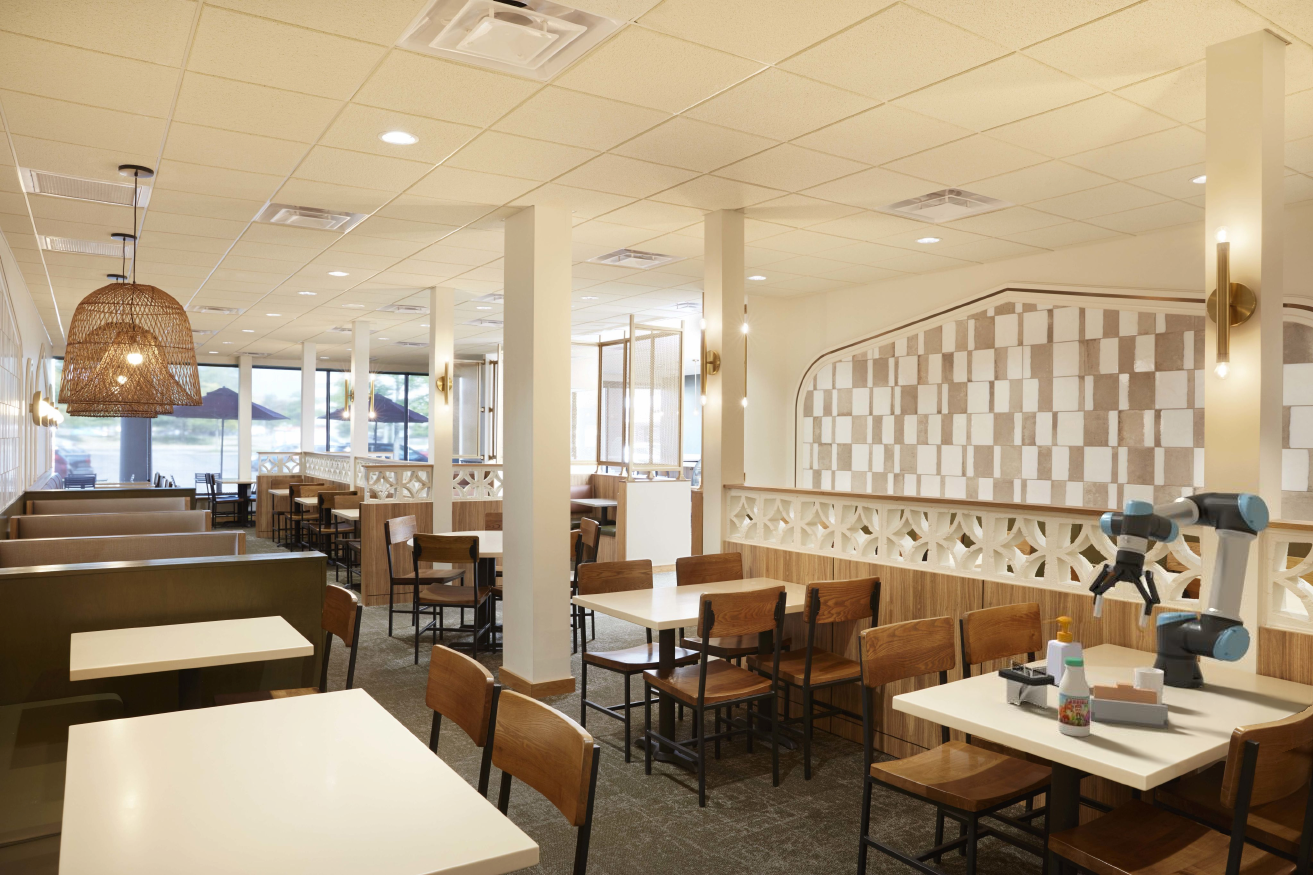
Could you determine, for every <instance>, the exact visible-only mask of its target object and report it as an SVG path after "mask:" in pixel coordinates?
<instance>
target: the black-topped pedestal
mask: <svg viewBox="0 0 1313 875" xmlns="http://www.w3.org/2000/svg"><path fill="white" fill-rule="evenodd" d="M1047 667H1048V666H1046V665H1045V666H1037V667H1033V666H1031V667H1027V666H1026V664H1025V663H1024V664H1023V663H1021V662H1020V663H1019V662H1017V661H1014V660H1013V659H1011V660H1010V668H1000V669H998V677H1000V678H1003V679H1006V686H1005V687H1006V690H1005V691H1006V696H1005V698H1006V702H1010V703H1017V704H1019V705H1020V704H1021V702H1024V701H1023V700H1026V701H1025V702H1027V701H1028V702H1027V703H1029V702H1031V703H1030V704H1032V703H1035V704H1037V705H1036V706H1038V705H1039V706H1038V707H1040V706H1042V707H1041V708H1043V707H1045V708H1044V709H1046V708H1047V709H1048V686H1052V685H1054V684H1055V677H1054V676H1052V675H1049V674H1047ZM1045 670H1046V673H1045ZM1006 702H1005V703H1006ZM1010 703H1009V704H1010ZM1035 704H1034V705H1035Z"/></svg>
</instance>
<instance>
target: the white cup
mask: <svg viewBox="0 0 1313 875" xmlns="http://www.w3.org/2000/svg"><path fill="white" fill-rule="evenodd" d="M1133 672H1134V688H1137V689H1147V690H1156V691H1157V705H1163V694H1164V684H1163V682H1164V671H1162V670H1160V669H1156V668H1153V667H1147V666H1136V667H1134V671H1133Z"/></svg>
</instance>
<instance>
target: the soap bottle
mask: <svg viewBox="0 0 1313 875" xmlns="http://www.w3.org/2000/svg"><path fill="white" fill-rule="evenodd" d="M1051 622H1057V623H1058V625H1059V626H1061V627H1062V628H1061V629H1062V630H1061V631H1057V632H1056V633H1057V635H1056V639H1051V640H1048V643H1047V649H1046V650H1047V651H1046V658H1045V660H1046V661H1045V666H1048V667H1047V674H1049V675H1052V676H1054V677H1055V684H1053V685H1054V686H1057V687H1059V685H1060V682H1061V680H1062V678H1063V676H1064V673H1065V670H1066V666H1065V658H1067V657H1075V658H1080V659H1083V660H1084V655H1083V654H1084V653H1083V645H1082V644H1081V643H1080V642H1077V641H1074V640H1073V636H1074V635H1073V633H1072V632H1069V631H1068V629H1069V628H1068V627H1072V623H1074V622H1075V620H1074V619H1073V618H1071V617H1068V616H1064V615H1063V616H1060V617H1059V616H1058V618H1056V619H1055V618H1054V619H1049V620H1044V621H1042V624H1047V623H1051ZM1083 667H1084V668H1083V674H1084V677H1085V678H1086V674H1085V664H1084V665H1083ZM1044 673H1046V670H1045V669H1044Z"/></svg>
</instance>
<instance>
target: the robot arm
mask: <svg viewBox="0 0 1313 875" xmlns="http://www.w3.org/2000/svg"><path fill="white" fill-rule="evenodd" d="M1269 523H1270V513H1269V508H1268V506H1267V504H1266V502H1265V501H1264V500H1263V498H1262V497H1260V496H1259V495H1257V494H1256V495H1255V494H1250V493H1244V492H1242V493H1241V492H1239V493H1237V492H1236V493H1235V492H1234V493H1233V492H1232V493H1231V492H1202V493H1198V494H1193V495H1188V496H1184V497H1179V498H1176V499H1175V500H1174V501H1173V502H1170V503H1164V504H1159V505H1155V506H1154V504H1152V503H1151V502H1147V501H1142V500H1134V499H1133V500H1128V501H1127V502H1126V503H1125V507H1124V511H1123V512H1115V511H1113V512H1105V513H1104V514H1103V515H1101V517H1100V520H1099V524H1100V525H1099V528H1100V530H1101V532H1102V533H1103V534H1104V535H1107V536H1112V537H1119V538H1118V540H1119V541H1118V544H1117V548H1118V550H1116V556H1115V564H1114V565H1112V564H1109V563H1103V566H1102V570H1101V571H1100V573H1099V574H1098V576H1097V577H1096V578H1095V579H1094V581H1093V582H1092V583H1091V585H1090V586H1089V588H1088V591H1089V592H1091V593H1093V602H1092V605H1094V610H1093V615H1092V616H1093V617H1096V618H1101V616H1102V610H1103V604H1104V600H1105V597H1104V596H1103V594H1105V593H1106V592H1107V591H1108V590H1110V588H1112V587H1113V586H1114V585H1116V584H1118V583H1119V582H1123V583H1130V584H1134V585H1135V587H1136V588H1137V590H1138V592H1139V594H1140V595H1141V597H1142V599H1143V601H1144V603H1142V604H1141V609H1140V615H1139V623H1138V626H1140V627H1143V628H1146V627H1147V623H1148V617H1151V615H1152V612H1153V606H1154V605H1161V598H1160V596H1159V593H1158V589H1157V587H1156V583H1155V579H1154V575H1155V574H1154V571H1152V570H1150V569H1146V570H1144V569H1143V568H1144V565H1145V560H1146V555H1145V554H1146V553H1147V548H1148V541H1149V540H1150V541H1152V540H1153V541H1157V542H1158V543H1164V544H1170V543H1172V542H1174V541H1176V540H1177V539H1178V537H1179V534H1180V527H1179V526H1180V525H1181V526H1183V527H1189V526H1201V527H1208V528H1214V532H1215V533H1216V535H1217V536H1218V542H1217V548H1216V552H1215V553H1216V554H1215V559H1214V567H1213V572H1212V578H1211V585H1210V591H1209V598H1208V604H1207V609H1205V610H1204V611H1202V612H1200V618H1199V616H1198V614H1197V612H1189V611H1188V612H1186V611H1184V612H1183V611H1181V612H1180V611H1178V612H1177V611H1173V612H1162V613H1159V614H1158V615H1157V617H1156V618H1157V619H1156V658H1155V661H1154V663H1153V666H1152V668H1156V669H1160V670H1162V671H1164V682H1163V685H1167V686H1171V687H1177V686H1178V688H1190V687H1192V688H1201V687H1204V685H1205V683H1204V682H1205V681H1204V676H1203V673H1202V670H1201V667H1200V664H1199V661H1198V656H1201V657H1205V658H1210V659H1214V660H1217V661H1220V662H1222V661H1223V662H1230V663H1233V662H1234V663H1235V662H1238V661H1239V660H1241V659H1242V658H1244V656H1245V655H1246V654H1247V653H1248V650H1249V648H1250V646H1251V645H1250V644H1251V636H1250V632H1249V630H1248V629H1247V628H1246V627H1244V620H1243V619H1242V618H1241V617H1240V611H1241V604H1242V598H1243V591H1244V586H1245V585H1244V584H1245V579H1246V573H1247V566H1248V559H1249V554H1250V548H1251V543H1252V542H1253V541H1254V540H1257V539H1258V533H1260V532H1263V531H1265V530H1266V529H1267V527H1268V526H1269ZM1111 572H1114V573H1113V574H1112V575H1110V574H1111ZM1109 576H1110V577H1109ZM1142 576H1143V577H1144V579H1145V582H1146V585H1147V589H1148V591H1147V589H1146V587H1145V585H1144V583H1143V581H1142V580H1141V577H1142ZM1108 577H1109V578H1108ZM1106 579H1107V580H1106Z"/></svg>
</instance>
